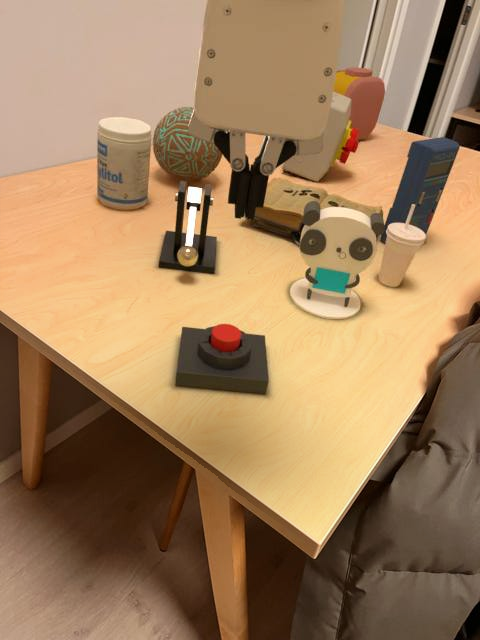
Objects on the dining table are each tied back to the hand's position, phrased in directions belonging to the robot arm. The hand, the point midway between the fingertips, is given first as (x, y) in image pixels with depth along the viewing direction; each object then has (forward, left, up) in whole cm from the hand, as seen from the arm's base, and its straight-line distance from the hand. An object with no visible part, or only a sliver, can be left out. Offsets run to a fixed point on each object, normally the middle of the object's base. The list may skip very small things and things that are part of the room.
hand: (243, 212), depth 45 cm
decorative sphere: (-8, +71, -25) cm, 76 cm away
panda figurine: (+17, +28, -25) cm, 41 cm away
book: (+18, +53, -25) cm, 61 cm away
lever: (-5, +34, -19) cm, 39 cm away
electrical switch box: (+24, +87, -25) cm, 94 cm away
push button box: (+1, +9, -25) cm, 27 cm away
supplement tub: (-19, +55, -25) cm, 63 cm away
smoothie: (+30, +36, -25) cm, 53 cm away
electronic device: (+37, +53, -25) cm, 69 cm away
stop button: (+1, +9, -21) cm, 23 cm away
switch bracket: (-5, +37, -25) cm, 45 cm away
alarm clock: (+37, +123, -25) cm, 131 cm away
